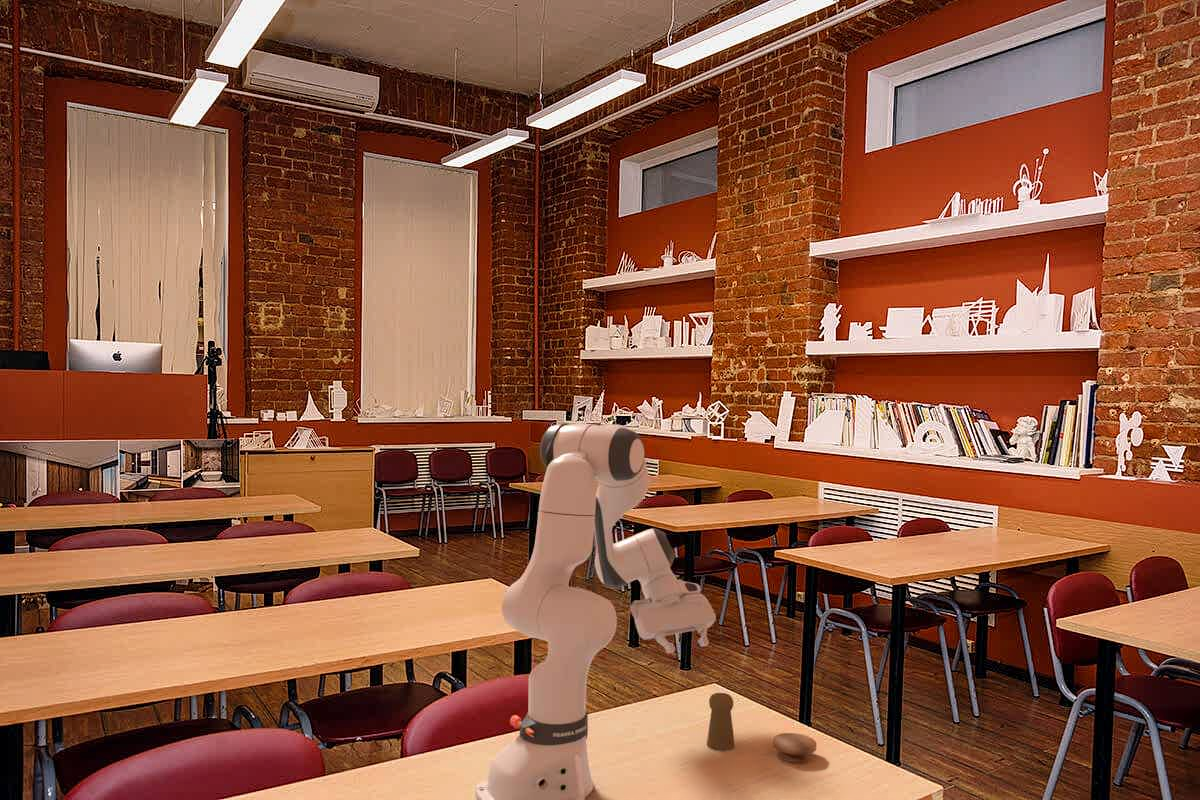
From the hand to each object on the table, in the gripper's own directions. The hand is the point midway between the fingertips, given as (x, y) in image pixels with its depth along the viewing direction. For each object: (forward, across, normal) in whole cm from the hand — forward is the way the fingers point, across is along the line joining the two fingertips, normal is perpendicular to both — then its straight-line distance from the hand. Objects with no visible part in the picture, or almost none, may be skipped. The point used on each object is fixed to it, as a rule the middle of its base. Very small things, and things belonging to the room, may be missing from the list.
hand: (688, 648), depth 197 cm
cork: (+22, -1, +3) cm, 22 cm away
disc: (+30, +10, -5) cm, 32 cm away
